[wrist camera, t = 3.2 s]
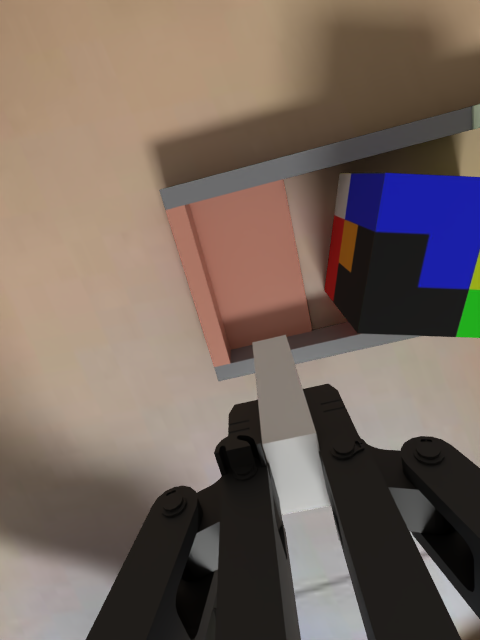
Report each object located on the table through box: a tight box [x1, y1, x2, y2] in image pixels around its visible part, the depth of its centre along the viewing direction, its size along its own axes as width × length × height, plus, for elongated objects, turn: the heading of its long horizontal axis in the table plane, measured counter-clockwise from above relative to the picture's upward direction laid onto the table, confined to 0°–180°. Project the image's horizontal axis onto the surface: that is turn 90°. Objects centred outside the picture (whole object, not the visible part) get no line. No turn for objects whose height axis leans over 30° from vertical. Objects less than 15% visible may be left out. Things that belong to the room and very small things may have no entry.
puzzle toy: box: [325, 173, 480, 338], centre depth 28 cm, size 10×10×10 cm
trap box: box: [159, 104, 480, 381], centre depth 30 cm, size 33×17×5 cm, turn 104°
